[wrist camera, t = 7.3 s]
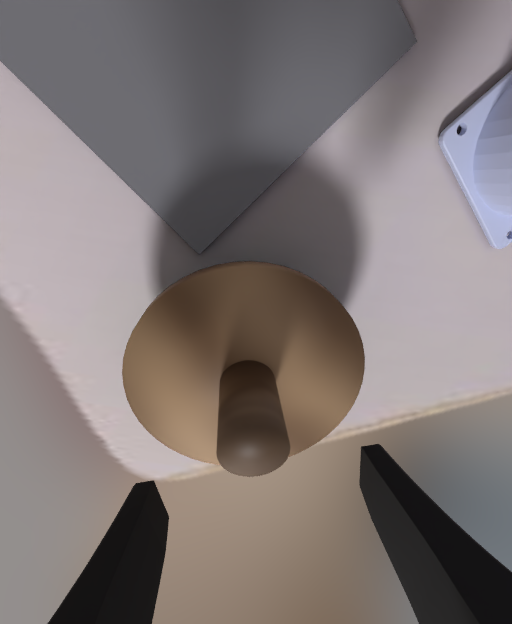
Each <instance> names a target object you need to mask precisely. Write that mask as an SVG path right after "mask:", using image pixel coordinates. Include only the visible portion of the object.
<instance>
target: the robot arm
mask: <svg viewBox="0 0 512 624" xmlns="http://www.w3.org/2000/svg"><path fill="white" fill-rule="evenodd" d="M459 125H460V126H461V132H460V134H459V135H458V134H457V127H458V126H459ZM439 145H440V147H441V149H442V151H443V153H444V155H445V157H446V159H447V161H448V163H449V165H450V167H451V169H452V171H453V173H454V175H455V177H456V179H457V181H458V183H459V185H460V187H461V189H462V190H463V192H464V194H465V196H466V198H467V200H468V202H469V204H470V206H471V208H472V210H473V212H474V214H475V216H476V218H477V220H478V222H479V224H480V226H481V228H482V230H483V232H484V234H485V235H486V237H487V239H488V241H489V243H490V245H491V246H492V247H494V248H498V249H501V248H504V247H506V246H507V245H508V244H510V243H511V242H512V70H511V71H510V72H509V73H508V74H506V75H505V76H504V77H503V78H502V79H501V80H500V81H498V82H497V83H496V84H495V85H494V86H493V87H492V88H491V89H489V90H488V91H487V92H486V93H485V94H484V95H483V96H481V97H480V98H479V99H478V100H477V101H476V102H475V103H473V104H472V105H471V106H470V107H469V108H468V109H467V110H465V111H464V112H463V113H462V114H461V115H460V116H459V117H458V118H456V119H455V120H454V121H453V122H452V123H451V124H450V125H448V126H447V127H446V128H445V129H444V130H443V131H442V132H441V134H440V136H439ZM509 231H510V233H509V235H508V236H507V233H508V232H509ZM360 488H361V491H362V494H363V497H364V499H365V502H366V505H367V508H368V511H369V513H370V516H371V519H372V521H373V523H374V525H375V527H376V530H377V532H378V534H379V536H380V539H381V541H382V543H383V545H384V547H385V549H386V552H387V553H388V556H389V558H390V560H391V562H392V564H393V567H394V569H395V571H396V573H397V575H398V577H399V580H400V582H401V584H402V586H403V588H404V590H405V592H406V595H407V597H408V599H409V601H410V603H411V606H412V608H413V610H414V613H415V615H416V617H417V620H418V622H419V624H512V572H511V571H510V570H509V569H507V568H506V567H505V566H504V565H503V564H501V563H500V562H499V561H498V560H497V559H495V558H494V557H493V556H492V555H491V554H490V553H488V552H487V551H486V550H485V549H484V548H483V547H482V546H481V545H479V544H478V543H477V542H476V541H475V540H474V539H473V538H472V537H471V536H470V535H468V534H467V533H466V532H465V531H464V530H463V529H462V528H461V527H460V526H459V525H458V524H456V523H455V522H454V521H453V520H452V519H451V518H450V517H449V516H448V515H447V514H446V513H445V512H444V511H443V510H442V509H441V508H440V507H439V506H438V505H437V504H436V503H435V502H434V501H433V500H432V499H431V498H430V497H429V496H428V495H427V494H426V493H424V491H423V490H422V489H421V488H420V487H419V486H418V485H417V484H416V483H415V482H414V481H413V480H412V479H411V478H410V477H409V476H408V475H407V474H406V473H405V472H404V471H403V469H402V468H401V467H400V466H399V465H398V464H397V463H396V462H395V461H394V460H393V459H392V457H391V456H390V455H389V454H388V453H387V452H386V451H385V450H384V448H383V447H382V446H381V445H379V444H375V445H369V446H363V447H361V462H360ZM168 520H169V516H168V513H167V511H166V508H165V506H164V504H163V502H162V499H161V497H160V494H159V492H158V489H157V487H156V485H155V482H154V481H147V482H141V483H136V484H135V485H134V486H133V488H132V490H131V492H130V493H129V495H128V497H127V499H126V500H125V502H124V504H123V506H122V507H121V509H120V511H119V512H118V514H117V516H116V518H115V519H114V521H113V523H112V525H111V526H110V528H109V529H108V531H107V533H106V535H105V536H104V538H103V539H102V541H101V543H100V545H99V546H98V548H97V549H96V551H95V552H94V554H93V556H92V557H91V559H90V561H89V562H88V564H87V565H86V567H85V569H84V570H83V572H82V573H81V575H80V576H79V578H78V579H77V581H76V583H75V584H74V585H73V587H72V588H71V590H70V592H69V593H68V594H67V596H66V597H65V599H64V600H63V602H62V603H61V605H60V607H59V608H58V609H57V611H56V612H55V614H54V615H53V617H52V618H51V619H50V621H49V622H48V624H152V619H153V614H154V609H155V604H156V599H157V594H158V589H159V584H160V579H161V573H162V568H163V563H164V558H165V551H166V541H167V532H168Z"/></svg>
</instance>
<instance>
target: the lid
mask: <svg viewBox="0 0 512 624" xmlns="http://www.w3.org/2000/svg"><path fill="white" fill-rule="evenodd" d="M364 366H365V356H364V349H363V343H362V340H361V337H360V334H359V331H358V329H357V327H356V325H355V323H354V321H353V319H352V318H351V316H350V315H349V313H348V312H347V311H346V309H345V308H344V307H343V306H342V304H341V303H340V302H339V301H338V300H337V299H336V298H335V297H334V296H333V295H332V294H331V293H330V292H329V291H328V290H327V289H326V288H325V287H323V286H322V285H321V284H319V283H318V282H317V281H315V280H314V279H312V278H310V277H308V276H306V275H305V274H303V273H301V272H298V271H296V270H293V269H290V268H288V267H285V266H281V265H276V264H271V263H265V262H254V261H244V262H230V263H224V264H218V265H214V266H211V267H208V268H204V269H201V270H198V271H196V272H194V273H192V274H190V275H187V276H185V277H183V278H182V279H180V280H178V281H177V282H175V283H174V284H172V285H171V286H169V287H168V288H167V289H166V290H164V291H163V292H162V293H161V294H160V295H159V296H157V297H156V299H155V300H154V301H153V302H152V303H151V304H150V305H149V307H148V308H147V309H146V311H145V312H144V314H143V315H142V317H141V319H140V320H139V322H138V323H137V325H136V326H135V328H134V330H133V331H132V334H131V336H130V338H129V341H128V343H127V346H126V350H125V354H124V358H123V369H122V375H123V385H124V389H125V393H126V397H127V400H128V402H129V404H130V407H131V409H132V411H133V412H134V414H135V416H136V417H137V419H138V420H139V422H140V423H141V424H142V425H143V426H144V428H145V429H146V430H147V431H148V432H149V433H150V434H151V435H152V436H154V437H155V438H156V439H157V440H158V441H160V442H161V443H163V444H164V445H165V446H167V447H168V448H170V449H172V450H174V451H176V452H178V453H180V454H182V455H184V456H187V457H189V458H192V459H195V460H199V461H202V462H206V463H212V464H217V465H221V466H222V467H223V468H224V469H226V470H227V471H229V472H231V473H233V474H236V475H240V476H247V477H250V476H260V475H264V474H267V473H270V472H272V471H274V470H276V469H277V468H279V467H280V466H281V465H282V464H283V463H284V462H285V461H286V460H287V458H288V457H290V456H292V455H295V454H297V453H299V452H301V451H303V450H305V449H307V448H309V447H311V446H312V445H314V444H316V443H317V442H319V441H320V440H321V439H323V438H324V437H325V436H327V435H328V434H329V433H330V432H331V431H332V430H333V429H334V428H336V427H337V426H338V425H339V423H340V422H341V421H342V420H343V419H344V417H345V416H346V415H347V413H348V412H349V410H350V409H351V407H352V406H353V404H354V402H355V400H356V398H357V396H358V394H359V391H360V388H361V384H362V381H363V375H364Z"/></svg>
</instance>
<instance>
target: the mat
mask: <svg viewBox="0 0 512 624" xmlns="http://www.w3.org/2000/svg"><path fill="white" fill-rule="evenodd" d="M416 42H417V40H416V38H415V36H414V34H413V32H412V29H411V27H410V25H409V23H408V21H407V19H406V17H405V15H404V12H403V10H402V8H401V6H400V4H399V2H398V0H0V61H1V62H2V63H3V64H4V65H5V66H6V67H7V68H8V69H9V70H10V71H11V72H12V73H13V74H14V75H15V76H16V77H17V78H18V79H19V80H20V81H21V82H23V83H24V84H25V85H26V86H27V87H28V88H29V89H30V90H31V91H32V92H33V93H34V94H35V95H36V96H37V97H38V98H39V99H40V100H41V101H42V102H43V103H44V104H45V105H46V106H47V107H48V108H49V109H50V110H51V111H52V112H53V113H54V114H55V115H56V116H57V117H58V118H59V119H60V120H61V121H63V122H64V123H65V124H66V125H67V126H68V127H69V128H70V129H71V130H72V131H73V132H74V133H75V134H76V135H77V136H78V137H79V138H80V139H81V140H82V141H83V142H84V143H85V144H86V145H87V146H88V147H89V148H90V149H91V150H92V151H93V152H94V153H95V154H96V155H97V156H98V157H99V158H100V159H101V160H102V161H104V162H105V163H106V164H107V165H108V166H109V167H110V168H111V169H112V170H113V171H114V172H115V173H116V174H117V175H118V176H119V177H120V178H121V179H122V180H123V181H124V182H125V183H126V184H127V185H128V186H129V187H130V188H131V189H132V190H133V191H134V192H135V193H136V194H137V195H138V196H139V197H140V198H141V199H142V200H143V201H145V202H146V203H147V204H148V205H149V206H150V207H151V208H152V209H153V210H154V211H155V212H156V213H157V214H158V215H159V216H160V217H161V218H162V219H163V220H164V221H165V222H166V223H167V224H168V225H169V226H170V227H171V228H172V229H173V230H174V231H175V232H176V233H177V234H178V235H179V236H180V237H181V238H182V239H183V240H184V241H186V242H187V243H188V244H189V245H190V246H191V247H192V248H193V249H194V250H195V251H196V252H197V253H198V254H200V253H201V252H202V251H204V250H205V249H206V248H207V247H208V246H209V245H210V244H211V243H212V242H213V241H214V240H215V239H216V238H217V237H218V236H219V235H220V234H221V233H222V232H223V231H224V230H225V229H226V228H227V227H228V226H229V225H230V224H231V223H232V222H233V221H234V220H235V219H236V218H237V217H238V216H239V215H240V214H241V213H242V212H243V211H244V210H245V209H246V208H248V207H249V206H250V205H251V204H252V203H253V202H254V201H255V200H256V199H257V198H258V197H259V196H260V195H261V194H262V193H263V192H264V191H265V190H266V189H267V188H268V187H269V186H270V185H271V184H272V183H273V182H274V181H275V180H276V179H277V178H278V177H279V176H280V175H281V174H282V173H283V172H284V171H285V170H286V169H287V168H288V167H289V166H290V165H291V164H293V163H294V162H295V161H296V160H297V159H298V158H299V157H300V156H301V155H302V154H303V153H304V152H305V151H306V150H307V149H308V148H309V147H310V146H311V145H312V144H313V143H314V142H315V141H316V140H317V139H318V138H319V137H320V136H321V135H322V134H323V133H324V132H325V131H326V130H327V129H328V128H329V127H330V126H331V125H332V124H333V123H334V122H335V121H336V120H338V119H339V118H340V117H341V116H342V115H343V114H344V113H345V112H346V111H347V110H348V109H349V108H350V107H351V106H352V105H353V104H354V103H355V102H356V101H357V100H358V99H359V98H360V97H361V96H362V95H363V94H364V93H365V92H366V91H367V90H368V89H369V88H370V87H371V86H372V85H373V84H374V83H375V82H376V81H377V80H378V79H379V78H380V77H381V76H383V75H384V74H385V73H386V72H387V71H388V70H389V69H390V68H391V67H392V66H393V65H394V64H395V63H396V62H397V61H398V60H399V59H400V58H401V57H402V56H403V55H404V54H405V53H406V52H407V51H408V50H409V49H410V48H411V47H412V46H413V45H414V44H415V43H416Z"/></svg>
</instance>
